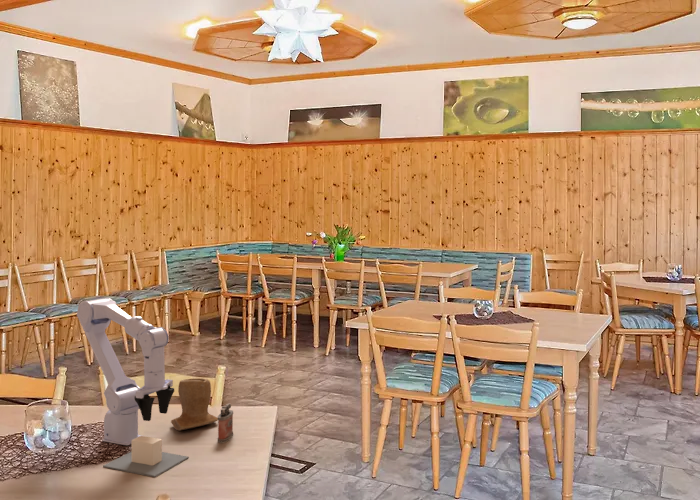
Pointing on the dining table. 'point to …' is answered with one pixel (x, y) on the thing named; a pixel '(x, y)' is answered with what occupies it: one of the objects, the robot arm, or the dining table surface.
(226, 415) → the red patterned tin
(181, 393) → the brown bookend
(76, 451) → the dining table surface
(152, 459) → the cream block
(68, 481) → the dining table surface
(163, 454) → the slate mat
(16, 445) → the dining table surface
